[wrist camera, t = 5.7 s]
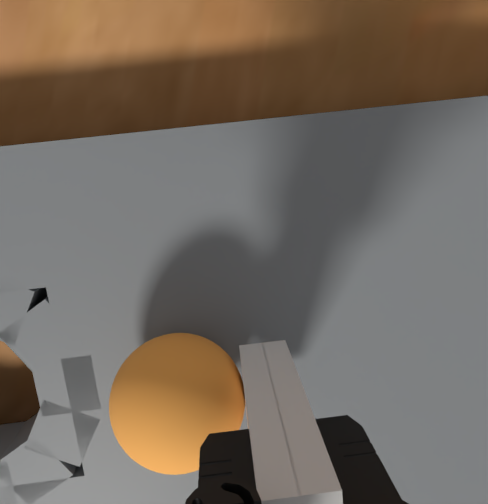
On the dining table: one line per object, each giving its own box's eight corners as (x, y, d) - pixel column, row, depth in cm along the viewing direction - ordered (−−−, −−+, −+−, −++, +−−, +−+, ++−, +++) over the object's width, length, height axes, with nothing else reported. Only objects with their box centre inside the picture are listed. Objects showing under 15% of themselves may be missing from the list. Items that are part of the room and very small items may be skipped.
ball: (242, 414, 16) (127, 432, 16) (231, 307, 15) (110, 323, 15) (260, 494, 12) (109, 520, 12) (247, 356, 12) (85, 379, 11)
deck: (-133, 562, 19) (-183, 622, 17) (-263, 178, 16) (-349, 182, 13) (513, 471, 20) (554, 514, 18) (522, 96, 17) (574, 86, 15)
